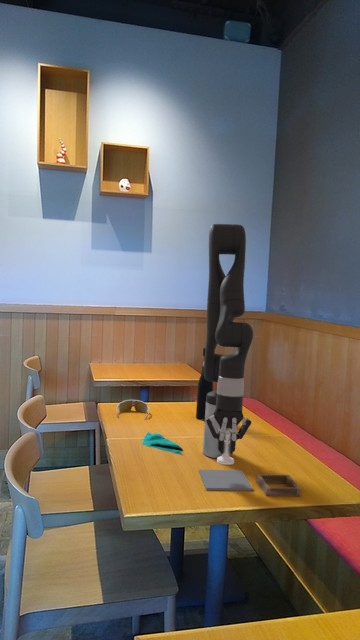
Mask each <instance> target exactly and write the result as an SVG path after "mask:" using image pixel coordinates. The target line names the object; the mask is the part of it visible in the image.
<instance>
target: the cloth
mask: <svg viewBox="0 0 360 640" xmlns="http://www.w3.org/2000/svg"><path fill="white" fill-rule="evenodd" d="M141 444H142V446H146V447H149V448H153V449H157V450H160V451H165V452H170V453H173V454H178V455H181V456H184V454H183V453H182V451H183V450H184V448H182V446H180V445H179V444H177V442H174V441H171V440H170V439H168V438H166V437H164V435H163V434H162V433H161V434H160V433H158V432H153V433H151V432H149V431H147V432H146V434H145V436H144V437H143V439H142V442H141ZM181 450H182V451H181Z"/></svg>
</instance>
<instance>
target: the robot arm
mask: <svg viewBox="0 0 360 640" xmlns="http://www.w3.org/2000/svg"><path fill="white" fill-rule="evenodd" d="M246 246H247V237H246V229H245V227H244V226H243V225H242V224H237V223H235V224H234V223H233V224H232V223H231V224H229V223H215V224H211V225H210V228H209V232H208V287H207V288H208V289H207V298H206V299H207V301H206V336H205V337H206V340H205V347H204V348H205V358H204V359H203V362H204V378H205V380H206V381H210V382H213V383H216V384H217V386H216V390H213V391H212V392H209V393H208V394H207V396H206V411H205V420H204V425H203V426H204V429H203V430H204V431H203V441H202V442H203V443H202V445H203V446H202V454H203V455H205V456H206V457H209V458H214V459H217V458H218V457H220V456H222V455H223V452H224V447H225V443H224V441H225V437H224V433H226V432H227V430H226V429H227V428H229V432H228V433H230V434H231V436H230V439H229V441H230V442H231V443H230V444H228V449H229V456H230V457H231V455H233V453H235V451H236V443H237V441H238V440H242V439H243V438H244V437H245V434H247V433H246V432H247V431H248V429H249V428H250V427H251V425H252V421H251V420H250V418H247V417H245V415H244V413H243V406H244V393H245V390H244V389H245V382H244V380H245V378H244V377H245V365H246V360H247V356H248V353H249V350H250V347H251V345H252V342H253V339H254V331H253V330H254V329H253V327H252V325H250V324H249V323H247V322H240V321H239V322H237V321H234V320H235V319H236V318H239V317H242V316H243V315H244V314H245V311H246V306H245V292H244V290H245V289H244V288H245V287H244V284H245V283H244V281H245V269H246V268H245V267H246V250H247V249H246ZM221 255H229V256H230V255H234V261H233V264H232V265H231V267H230V269H229V271H228V272H227V273H226V275H225V272H224V271H223V267H222V264H221V261H220V256H221ZM218 345H219V346H220V347H227V348H229V347H230V348H236V350H235V352H233V353H231V354H218V353H215V351H216V348H217V346H218ZM240 423H241V425H240V428H239V429H238V430H237V427H238V426H239V424H240Z"/></svg>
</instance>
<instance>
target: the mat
mask: <svg viewBox="0 0 360 640" xmlns="http://www.w3.org/2000/svg"><path fill="white" fill-rule="evenodd" d="M198 474H199V476H200V478H201V481H202V483H203V486H204V488H205V491H250V492H251V491H254V487H253V486H252V485H251V483H250V481H249V480H248V479H247V477H246V475H245V474H244V472H243V471H242V470H241V469H198Z"/></svg>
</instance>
